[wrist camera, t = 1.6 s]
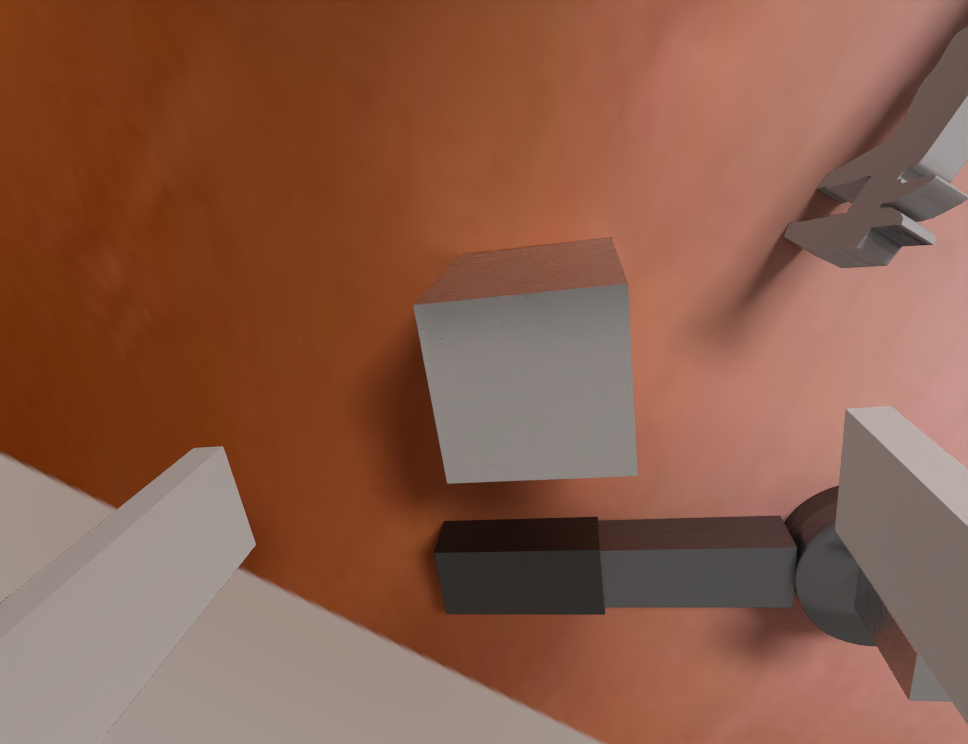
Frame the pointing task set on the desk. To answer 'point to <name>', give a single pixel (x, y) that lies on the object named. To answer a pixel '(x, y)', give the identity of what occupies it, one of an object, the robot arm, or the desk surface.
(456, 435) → the plain grey cube
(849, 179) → the caliper
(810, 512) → the ratchet
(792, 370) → the desk surface
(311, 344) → the desk surface
